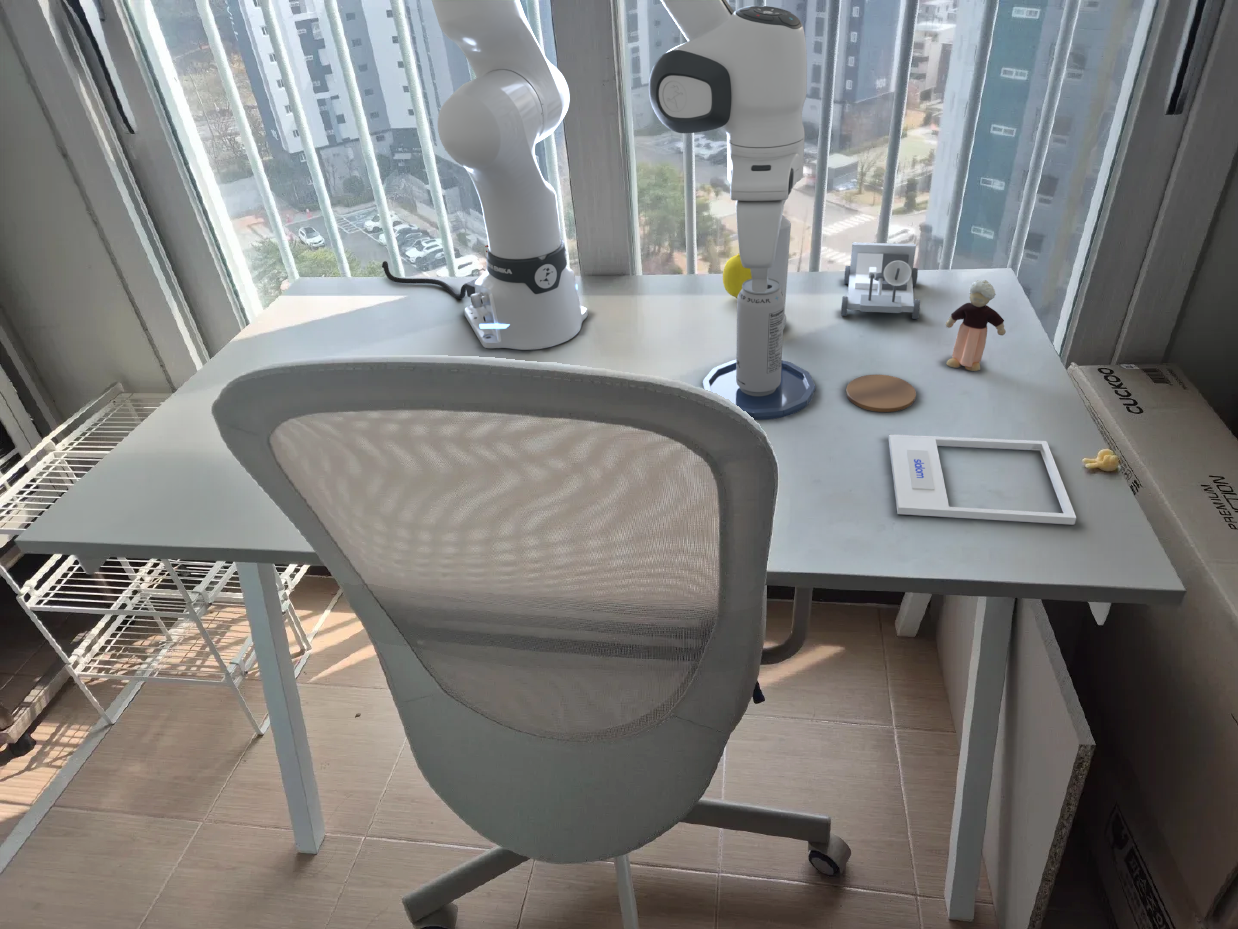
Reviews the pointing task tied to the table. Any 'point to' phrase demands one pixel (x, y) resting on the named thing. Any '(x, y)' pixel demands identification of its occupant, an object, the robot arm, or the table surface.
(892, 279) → the toy car
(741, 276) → the lemon
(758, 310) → the energy drink can
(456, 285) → the table surface
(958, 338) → the grandmother figurine
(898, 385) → the coaster
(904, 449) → the photo frame
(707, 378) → the plate
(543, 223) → the robot arm
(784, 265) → the bottle
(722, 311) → the table surface
